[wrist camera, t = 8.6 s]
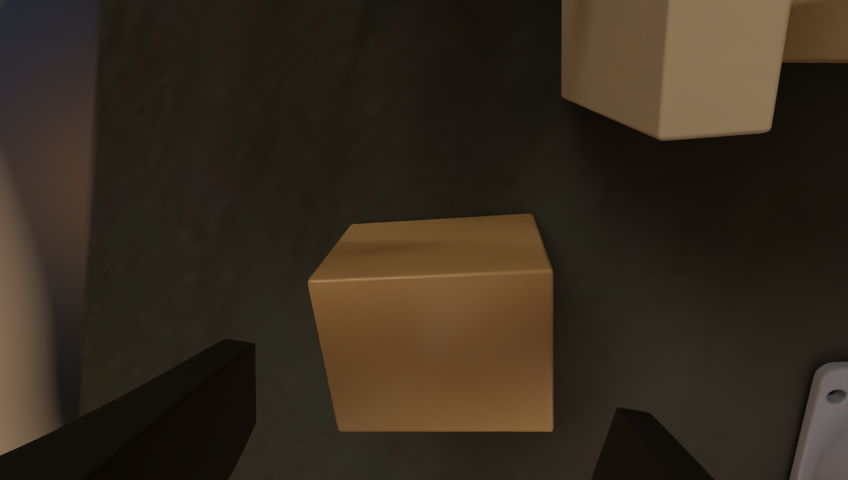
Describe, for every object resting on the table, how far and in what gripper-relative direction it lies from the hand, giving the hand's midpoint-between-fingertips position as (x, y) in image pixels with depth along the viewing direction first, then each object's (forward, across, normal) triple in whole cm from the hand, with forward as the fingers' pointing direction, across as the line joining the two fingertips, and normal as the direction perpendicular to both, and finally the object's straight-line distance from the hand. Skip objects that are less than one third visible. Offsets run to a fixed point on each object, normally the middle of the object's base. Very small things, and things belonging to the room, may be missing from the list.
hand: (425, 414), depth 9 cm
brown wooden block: (+6, 0, 0) cm, 6 cm away
